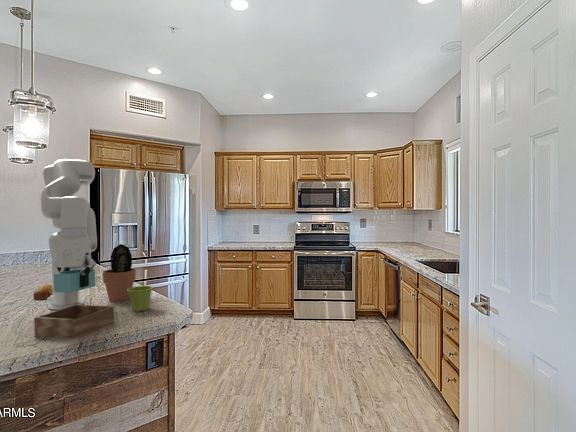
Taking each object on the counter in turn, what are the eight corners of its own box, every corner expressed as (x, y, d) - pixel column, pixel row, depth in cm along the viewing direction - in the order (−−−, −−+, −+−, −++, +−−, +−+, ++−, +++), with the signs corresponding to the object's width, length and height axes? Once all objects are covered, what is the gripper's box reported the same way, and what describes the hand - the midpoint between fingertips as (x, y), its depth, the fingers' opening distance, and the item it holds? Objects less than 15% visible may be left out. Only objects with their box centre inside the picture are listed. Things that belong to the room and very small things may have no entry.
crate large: (34, 336, 109) (34, 317, 109) (76, 320, 124) (76, 304, 124) (76, 339, 105) (75, 320, 105) (113, 323, 121) (113, 306, 121)
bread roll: (56, 301, 168) (53, 286, 170) (64, 295, 162) (60, 279, 164) (32, 306, 160) (29, 290, 162) (39, 299, 154) (36, 283, 156)
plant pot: (143, 313, 131) (143, 291, 131) (122, 312, 133) (121, 290, 133) (157, 307, 140) (157, 286, 140) (137, 306, 142) (137, 285, 142)
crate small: (54, 292, 111) (53, 273, 111) (79, 285, 120) (79, 268, 120) (70, 292, 109) (70, 273, 109) (95, 286, 119) (94, 269, 119)
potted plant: (95, 301, 151) (94, 245, 151) (120, 294, 164) (119, 242, 164) (119, 304, 146) (118, 245, 146) (143, 296, 159) (141, 243, 159)
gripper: (42, 234, 113) (44, 288, 113) (86, 233, 109) (88, 289, 109) (62, 233, 120) (63, 283, 120) (104, 232, 116) (105, 284, 116)
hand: (75, 285), depth 115 cm, fingers closed on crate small, 6 cm apart
